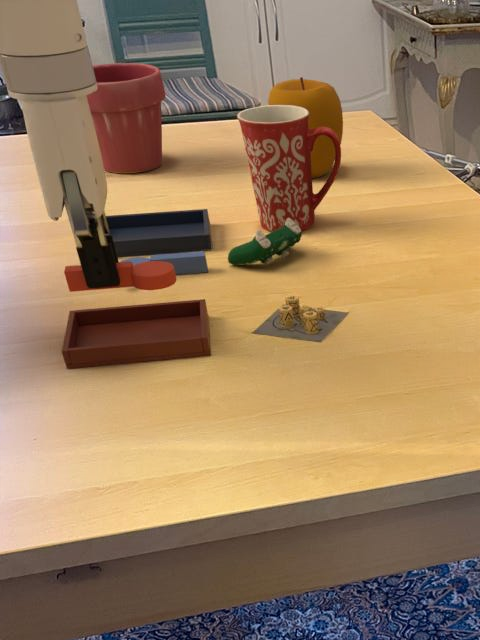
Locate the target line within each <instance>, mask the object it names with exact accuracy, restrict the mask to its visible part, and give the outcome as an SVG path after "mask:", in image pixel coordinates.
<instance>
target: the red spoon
mask: <svg viewBox="0 0 480 640" xmlns="http://www.w3.org/2000/svg"><path fill="white" fill-rule="evenodd" d="M116 266H117V270H118V274H119V277H120V285H119V286H116V287H105V288H93V289H90V288H88V287H87V285H86V281H85V278H84V274H83V271H82V267H81V264H76V265H66V266H65V267H64V270H63V273H64V277H65V280H66V284H67V288H68V291H69V292H70V293H71V292H84V291H86V292H87V291H97V290H98V291H99V290H109V289H110V290H111V289H122V288H135V289H137V290H141V291H158V290H163V289H167V288H169V287H172V286H173V285H175V284H176V282H177V275H175V270H174V266H173V265H172V264H171V263H168V262H164V261H148V262H143V263H139V264H136V265H134V266H133V264H132V261H129V262H121V261H119V262H116Z"/></svg>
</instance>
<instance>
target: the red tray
mask: <svg viewBox="0 0 480 640" xmlns="http://www.w3.org/2000/svg"><path fill="white" fill-rule="evenodd" d="M210 336H211V335H210V320H209V313H208V306H207V301H206V299H205V298H202V299H201V298H200V299H190V300H178V301H166V302H155V303H143V304H131V305H119V306H110V307H109V306H108V307H98V308H97V307H96V308H86V309H84V308H83V309H74V310H69V313H68V317H67V322H66V328H65V332H64V338H63V342H62V346H61V355H62V357H63V360H64V361H63V362H64V364H65V368H66V369H67V370H69V369H80V368H87V367H88V368H89V367H91V368H92V367H99V366H100V367H101V366H111V365H121V364H131V363H143V362H153V361H162V360H163V361H164V360H173V359H184V358H194V357H205V356H211V355H212V351H211V338H210Z"/></svg>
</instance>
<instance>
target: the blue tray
mask: <svg viewBox="0 0 480 640" xmlns="http://www.w3.org/2000/svg"><path fill="white" fill-rule="evenodd" d="M106 219H107V223H108V227H109V233H110V234H109V235H112V238H113V242H114V245H115V249H116V253H117V257H118V258H121V257H122V258H123V257H134V256H135V257H136V256H146V255H147V256H148V255H162V254H175V253H188V252H201V251H212V250H213V244H212V233H211V232H212V231H211V221H210V216H209V211H208V208H202V209H199V208H198V209H185V210H172V211H158V212H142V213H129V214H128V213H127V214H112V215H111V214H110V215H106ZM109 235H106V236H109Z"/></svg>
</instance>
